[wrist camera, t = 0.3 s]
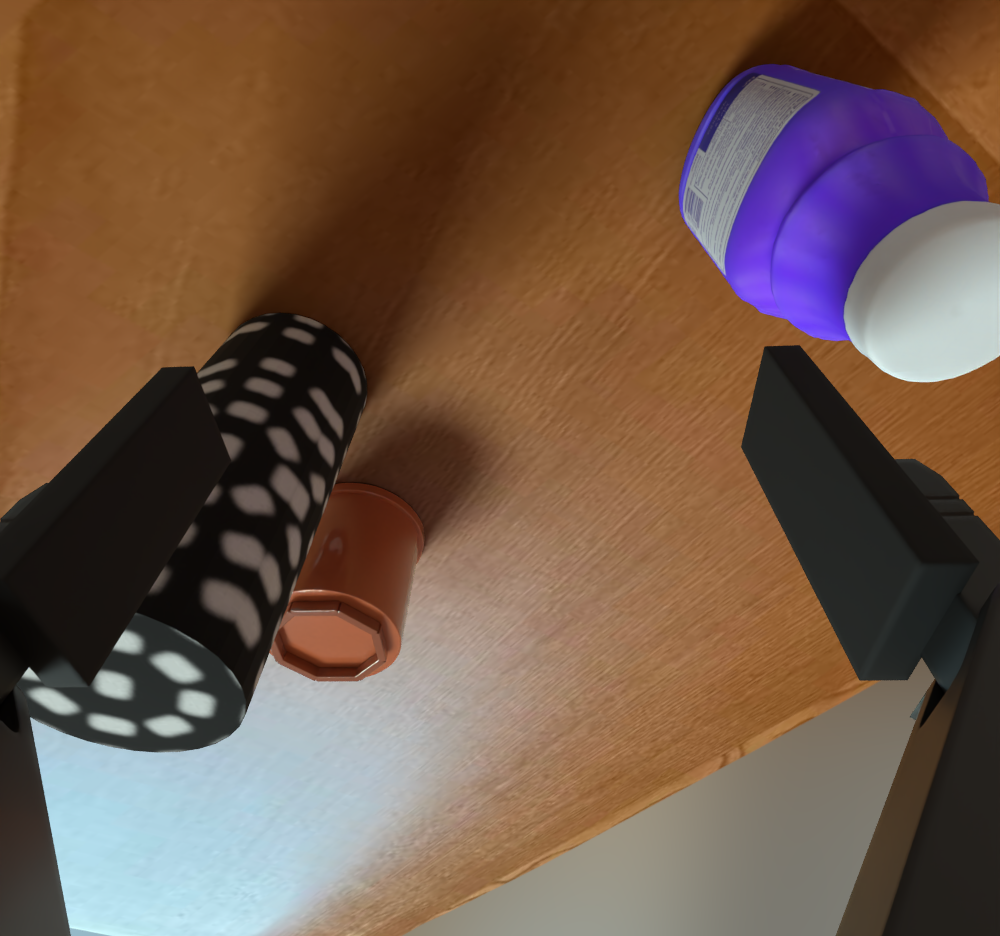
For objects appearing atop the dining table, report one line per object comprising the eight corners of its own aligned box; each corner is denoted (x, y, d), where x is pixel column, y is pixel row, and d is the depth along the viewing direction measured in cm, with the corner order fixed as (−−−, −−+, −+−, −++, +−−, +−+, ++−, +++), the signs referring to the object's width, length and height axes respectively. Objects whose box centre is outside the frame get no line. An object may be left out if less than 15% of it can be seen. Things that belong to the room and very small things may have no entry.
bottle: (759, 250, 30) (963, 454, 16) (652, 220, 30) (772, 407, 16) (844, 84, 26) (1216, 170, 12) (722, 44, 25) (971, 86, 11)
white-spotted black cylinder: (232, 289, 32) (-50, 565, 16) (384, 345, 34) (265, 644, 18) (215, 412, 37) (-17, 720, 21) (348, 456, 39) (229, 771, 23)
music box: (281, 482, 40) (224, 596, 32) (416, 480, 40) (392, 594, 32) (312, 576, 45) (270, 693, 38) (431, 575, 45) (413, 693, 37)
